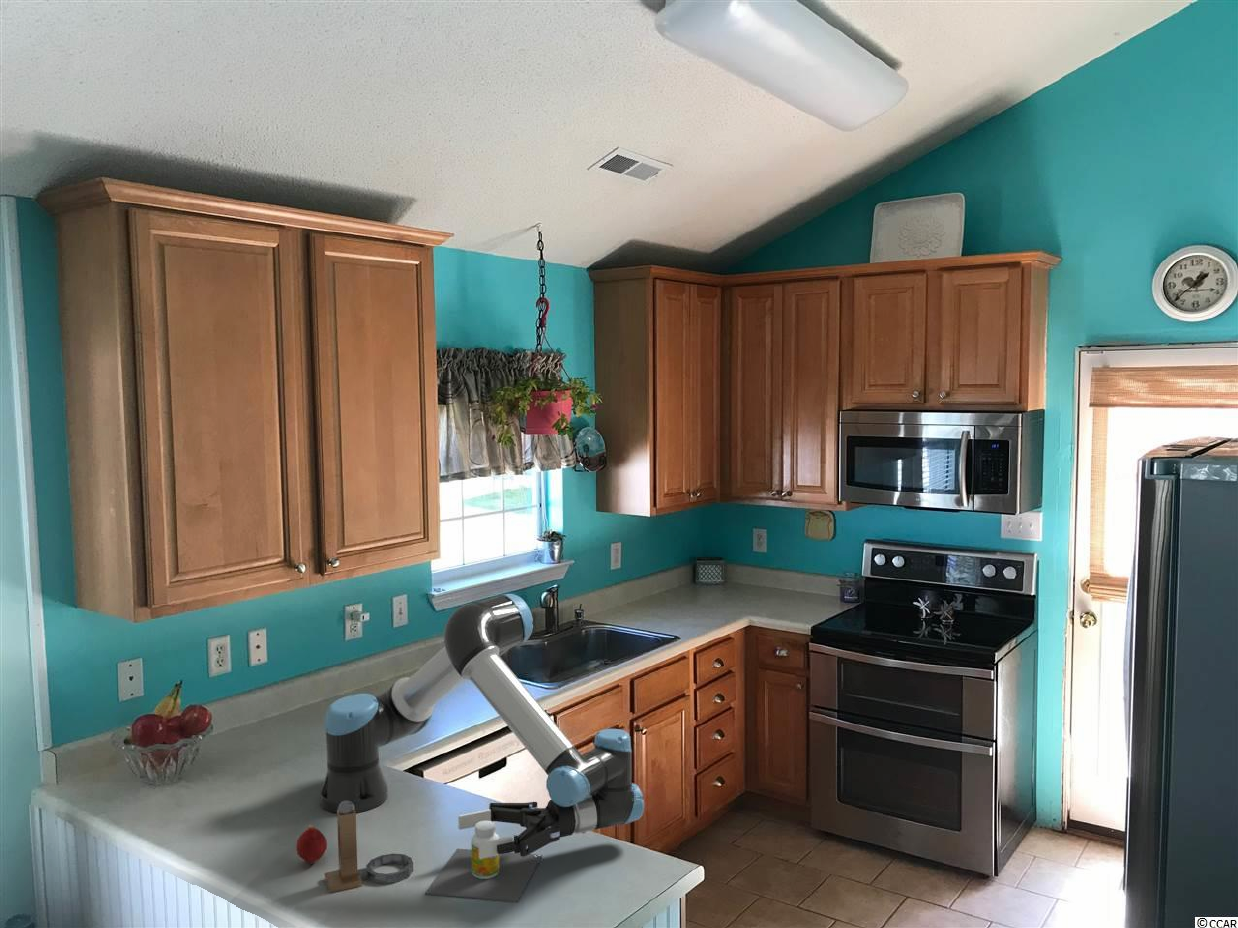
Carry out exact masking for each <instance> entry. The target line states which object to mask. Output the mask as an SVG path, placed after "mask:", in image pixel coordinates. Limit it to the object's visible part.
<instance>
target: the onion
mask: <svg viewBox="0 0 1238 928" xmlns="http://www.w3.org/2000/svg"><path fill="white" fill-rule="evenodd" d="M327 842H328V841H327V838H326V836H325V835H324V834H323V832H321V830H319V829H317V828H316V827H314V826H313V825H311V824H307V828H306V829H305V830H304V831H303V832H302V833H301V834H300V836H299V837H298V839H297V841H296V844H295V845H296V847H295V848H296V853H297V855H298V857H300V859H302V860H303V861H305V862H306V863H307V864H309V865H313V864H314V863H316V862H318V861H319V860H320V859H322V857H323V856H324V855H325V853H326V852H327V847H328V843H327Z"/></svg>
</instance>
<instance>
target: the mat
mask: <svg viewBox="0 0 1238 928" xmlns="http://www.w3.org/2000/svg"><path fill="white" fill-rule="evenodd" d="M534 855H536V856H537V857H535V856H534ZM538 855H539V854H537V853H536V854H534V853H531V854H529V855H527V856H524V857H522V856H520V853H514V852H510V853H506V854H501V855H499V873H498V874H497V875H496V876H495V877H493V878H489V879H479V878H476V877H474V876H473V874H472V849H468V848H456V850H455V851H454V852H453V853H452V855H451V856H450V858H449V859H448V861H447V862H446V863H445V865H444V866H443V867H442V869H441V870H440V872H439V873H438V875H437V876H436V877H435V879H434V880H433V881H432V883H431V884H430V885H429V887H428V888H427V889H426V891H425V894H424V895H426V896H437V897H439V896H441V897H452V898H461V899H463V898H464V899H473V898H474V900H475V899H476V900H484V901H485V900H486V901H497V902H500V901H501V902H509V903H518V902H519V901H520V898H521V897H522V895H523V893H524V892H525V889H526V887H527V885H528V883H529V881H530V879H531V878H532V876H533V874H534V873H535V870H536V868H537V866H538V865H537V864H539V863H538V861H539V860H540V861H541V859H540V858H542V857H543V855H542V854H540V855H541V856H542V857H541V856H538ZM540 861H539V862H540ZM535 867H536V868H535Z"/></svg>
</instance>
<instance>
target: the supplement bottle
mask: <svg viewBox="0 0 1238 928" xmlns="http://www.w3.org/2000/svg"><path fill="white" fill-rule="evenodd" d="M497 839H500V836H499V835H498V834H497V833H496V823H495V821H493V822H492V821H480V822H478V823H476V825H475V827H474V835H472V836H471V850H472V874H473V876H474V877H476V878H479V879H489V878H493V877H495V876H496V875H497V874H498V873H499V855H497V856H492V857H488V858H483V859H479V852H478V844H479V843H483V842H488V841H493V840H497Z"/></svg>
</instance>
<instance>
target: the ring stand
mask: <svg viewBox="0 0 1238 928" xmlns="http://www.w3.org/2000/svg"><path fill="white" fill-rule="evenodd" d="M356 813H357V812H355V810H354V804H353V803H352V802H351V801H348V800H345V801H343V802H341V803H340V805H339V807H338V809H337V813H336V818H337V819H336V820H337V821H336V822H337V847H338V848H337V849H338V850H337V853H338V869H336V870H332V871H327V872H324V880H325V884H326V886H327V891H328V892H329V894H332V893H336V892H340V891H344V890H350V889H354V888H358V887H362V886H363V882H362V881H363V880H369V881H371V882H372V883H374V884H385V885H387V884H388V885H389V884H393V883H399V882H401V881H403V880H405V879H408V878H409V877H410V876H411V875H412V873H413V872H414V862H413V859H412V857H410V856H409V855H406V854H402V853H389V854H388V853H387V854H381V855H379V856H376V857H375V858H372V859H370V861H369V862H368V863H367V864H366V865H365V867H364V868H360V869H358V850H357V849H358V847H357V844H358V842H357V819H356V817H357V816H356V815H357V814H356ZM398 863H400V864H401V865H403V866H404V868H403V869H401V870H398V871H395V872H388V873H382V872H381V873H380V872H377V871H375V869H376V868H377V869H378V868H380V867H381V866H384V864H385V865H389V864H398ZM400 864H399V865H400Z"/></svg>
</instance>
